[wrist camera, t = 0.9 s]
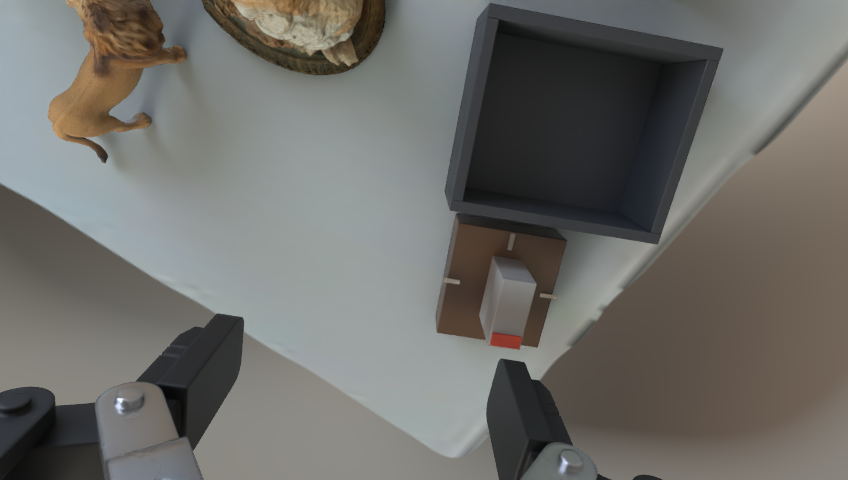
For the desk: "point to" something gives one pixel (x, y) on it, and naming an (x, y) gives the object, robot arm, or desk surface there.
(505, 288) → the tap knob
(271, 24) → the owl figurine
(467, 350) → the desk surface
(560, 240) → the panel
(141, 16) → the lion figurine
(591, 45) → the gray open box
